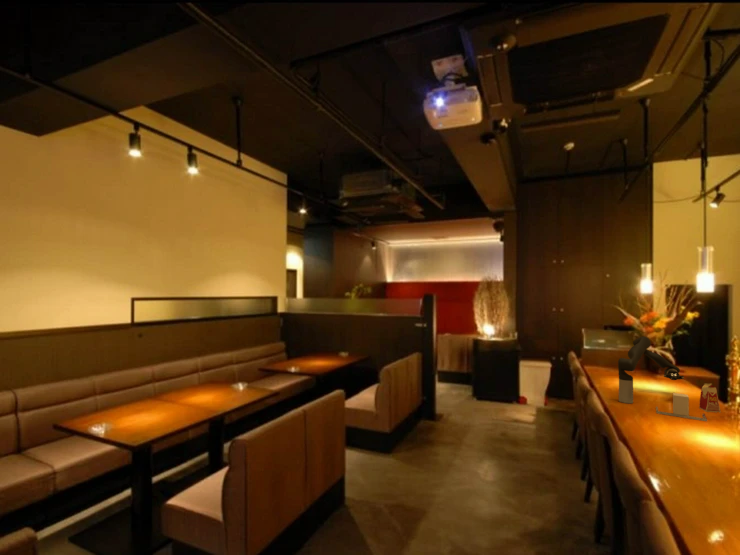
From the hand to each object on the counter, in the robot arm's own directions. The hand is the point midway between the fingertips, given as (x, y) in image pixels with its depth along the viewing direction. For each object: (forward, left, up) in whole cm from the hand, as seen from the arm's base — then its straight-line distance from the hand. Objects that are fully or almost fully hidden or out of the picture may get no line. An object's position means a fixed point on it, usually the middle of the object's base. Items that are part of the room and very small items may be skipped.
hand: (674, 378), depth 294 cm
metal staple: (+2, -27, -20) cm, 33 cm away
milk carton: (+20, -2, -20) cm, 28 cm away
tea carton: (+2, -28, -20) cm, 35 cm away
